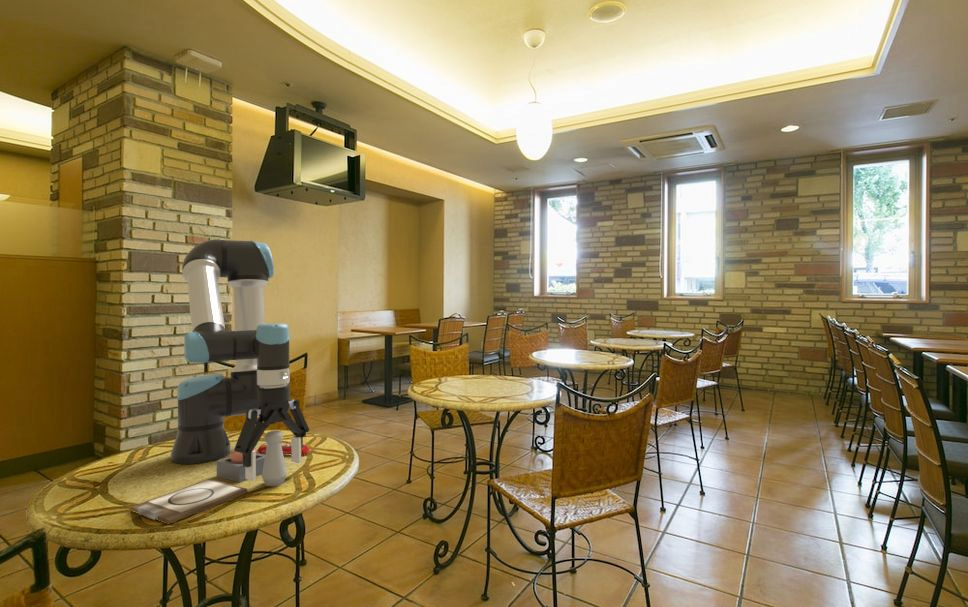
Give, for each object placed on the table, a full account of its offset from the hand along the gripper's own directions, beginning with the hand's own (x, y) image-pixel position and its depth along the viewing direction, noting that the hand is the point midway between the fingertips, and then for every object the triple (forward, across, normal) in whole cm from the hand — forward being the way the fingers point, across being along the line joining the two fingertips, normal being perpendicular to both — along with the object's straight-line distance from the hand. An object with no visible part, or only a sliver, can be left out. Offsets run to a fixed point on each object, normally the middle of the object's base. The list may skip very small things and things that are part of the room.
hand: (274, 470), depth 121 cm
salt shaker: (+4, 0, 0) cm, 4 cm away
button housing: (+3, +1, +13) cm, 14 cm away
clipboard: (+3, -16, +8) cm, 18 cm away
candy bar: (+4, +17, +17) cm, 25 cm away
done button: (0, +1, +13) cm, 13 cm away
